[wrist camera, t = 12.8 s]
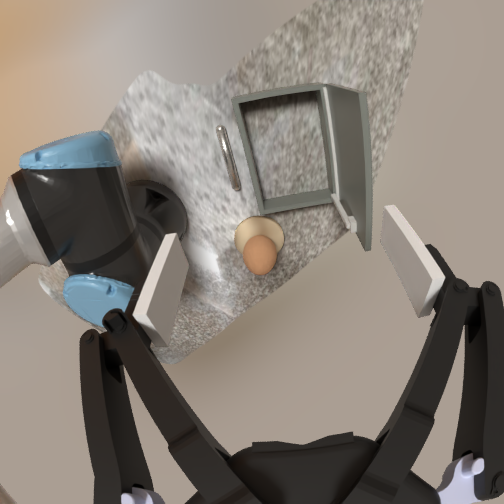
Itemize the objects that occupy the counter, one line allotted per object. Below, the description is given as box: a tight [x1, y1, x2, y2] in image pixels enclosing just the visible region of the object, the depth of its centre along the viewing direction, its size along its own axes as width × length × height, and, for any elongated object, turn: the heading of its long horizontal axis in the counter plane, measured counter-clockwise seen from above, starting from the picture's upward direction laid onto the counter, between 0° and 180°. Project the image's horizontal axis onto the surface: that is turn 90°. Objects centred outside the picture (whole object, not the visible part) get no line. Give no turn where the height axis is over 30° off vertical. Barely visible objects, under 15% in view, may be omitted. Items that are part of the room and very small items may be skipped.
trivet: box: [234, 216, 284, 255], centre depth 51 cm, size 9×9×1 cm
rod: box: [216, 125, 241, 190], centre depth 42 cm, size 1×11×1 cm, turn 13°
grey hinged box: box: [231, 83, 373, 251], centre depth 34 cm, size 14×19×17 cm
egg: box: [243, 235, 277, 275], centre depth 47 cm, size 6×6×8 cm
